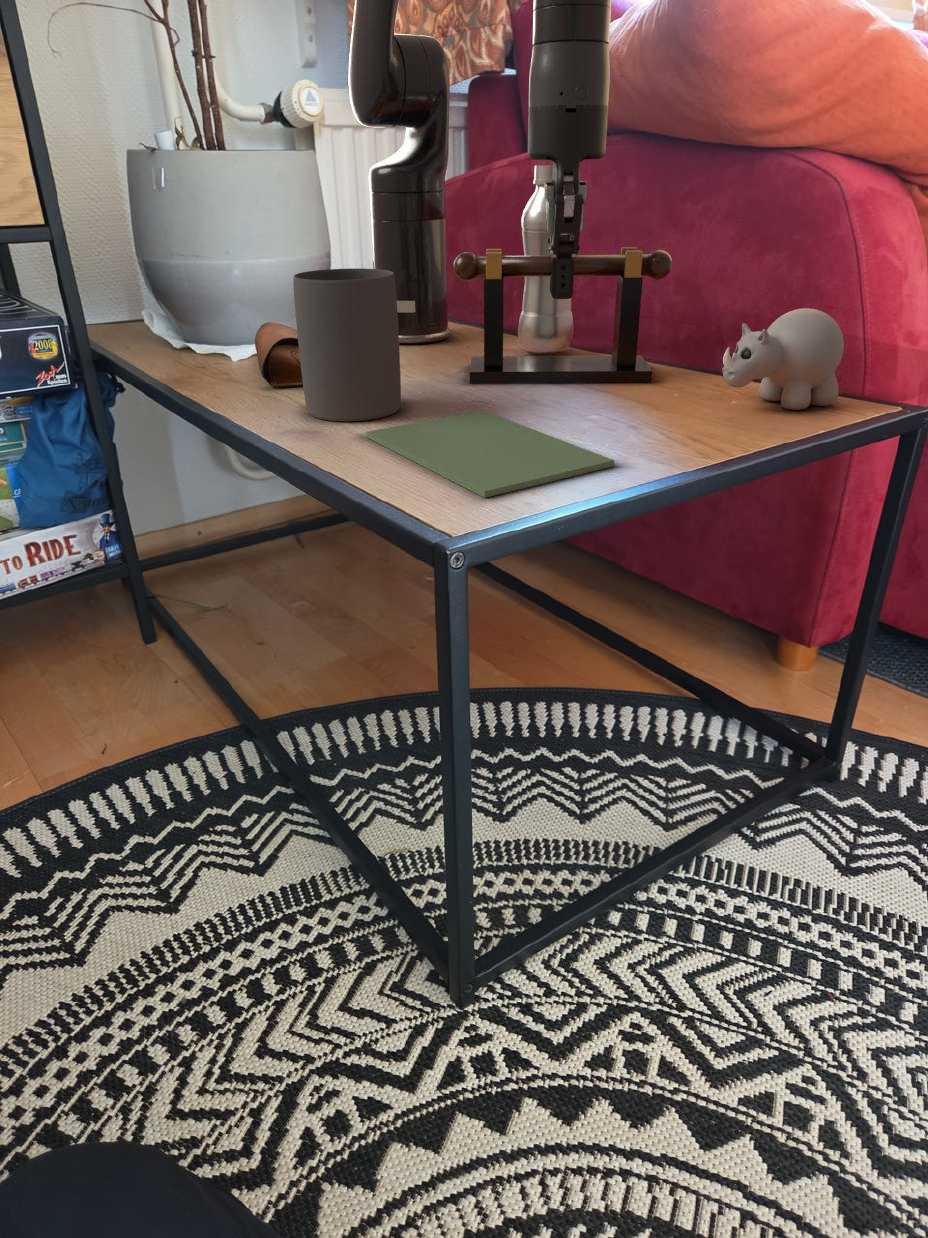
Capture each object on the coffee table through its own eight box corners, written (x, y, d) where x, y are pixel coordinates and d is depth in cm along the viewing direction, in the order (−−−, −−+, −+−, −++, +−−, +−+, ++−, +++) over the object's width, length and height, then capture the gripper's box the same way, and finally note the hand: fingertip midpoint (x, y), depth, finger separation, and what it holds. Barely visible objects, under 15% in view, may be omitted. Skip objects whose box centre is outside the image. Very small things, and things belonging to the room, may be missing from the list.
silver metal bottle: (508, 350, 105) (510, 165, 95) (557, 345, 107) (564, 164, 97) (532, 360, 99) (537, 165, 90) (583, 355, 102) (593, 164, 92)
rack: (471, 366, 97) (470, 247, 91) (640, 366, 96) (650, 245, 90) (469, 383, 90) (468, 254, 84) (651, 382, 89) (663, 252, 83)
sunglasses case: (345, 377, 90) (307, 322, 87) (291, 416, 91) (251, 363, 87) (324, 346, 106) (291, 298, 102) (278, 379, 106) (244, 333, 102)
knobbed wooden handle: (454, 279, 90) (453, 250, 89) (668, 277, 89) (670, 248, 88) (452, 282, 87) (452, 253, 86) (673, 280, 87) (675, 250, 85)
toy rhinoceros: (694, 402, 82) (705, 308, 78) (800, 391, 85) (815, 300, 81) (737, 421, 76) (752, 321, 72) (850, 408, 79) (869, 312, 75)
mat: (366, 437, 73) (365, 431, 73) (482, 415, 79) (482, 409, 78) (484, 498, 60) (484, 491, 59) (614, 466, 65) (614, 460, 65)
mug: (410, 417, 78) (404, 277, 72) (310, 426, 76) (295, 282, 70) (385, 384, 90) (378, 261, 84) (297, 391, 88) (284, 265, 82)
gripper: (526, 107, 87) (523, 288, 95) (531, 99, 75) (526, 307, 83) (600, 105, 87) (590, 287, 95) (617, 97, 75) (604, 306, 83)
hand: (561, 295), depth 89 cm, fingers closed on knobbed wooden handle, 2 cm apart
